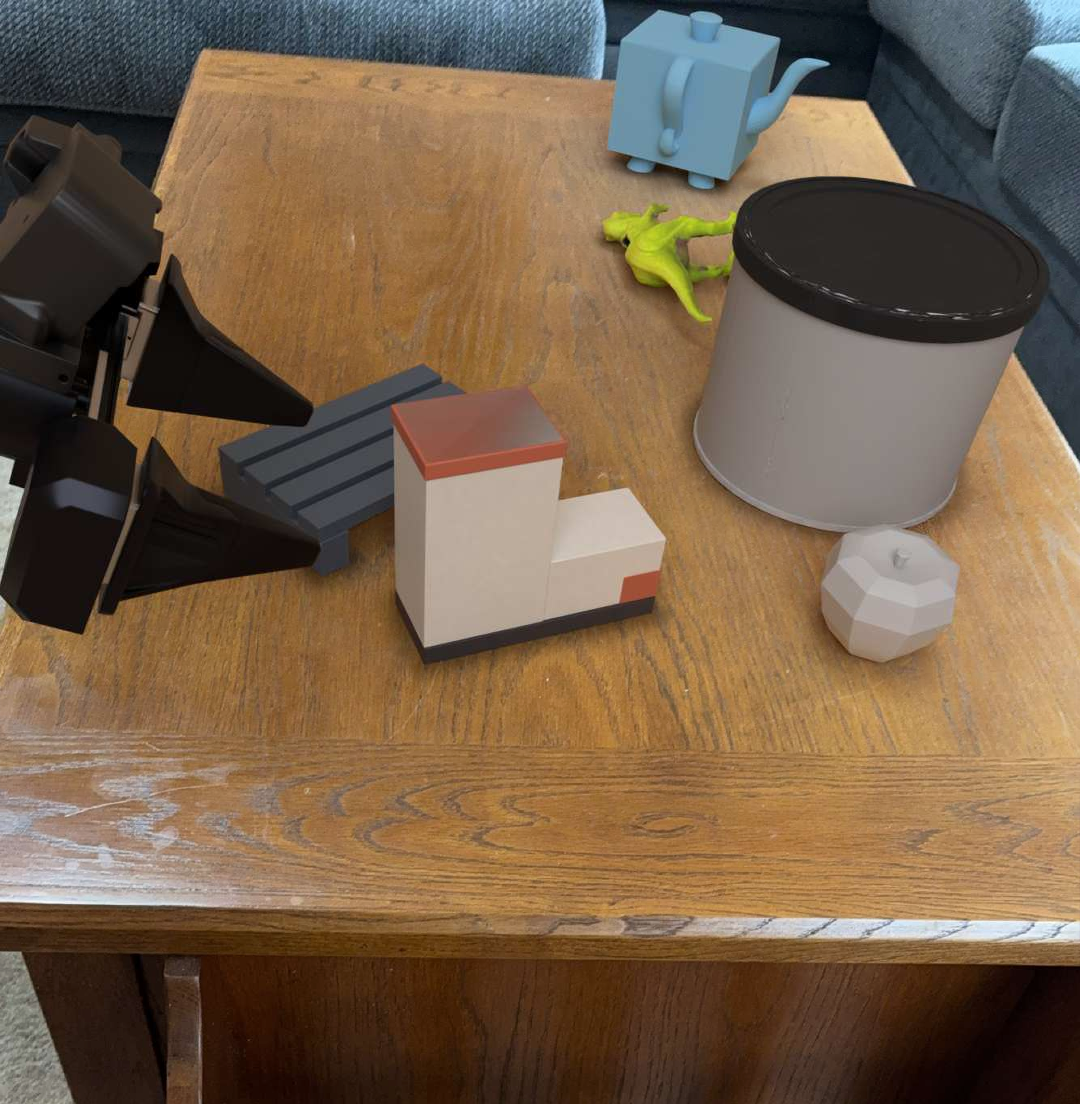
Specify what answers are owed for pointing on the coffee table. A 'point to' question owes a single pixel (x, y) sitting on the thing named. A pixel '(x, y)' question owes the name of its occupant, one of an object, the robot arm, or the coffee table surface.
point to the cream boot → (507, 530)
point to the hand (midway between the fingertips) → (313, 480)
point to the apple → (887, 591)
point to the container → (860, 348)
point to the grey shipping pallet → (328, 463)
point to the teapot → (697, 94)
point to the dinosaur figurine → (668, 250)
